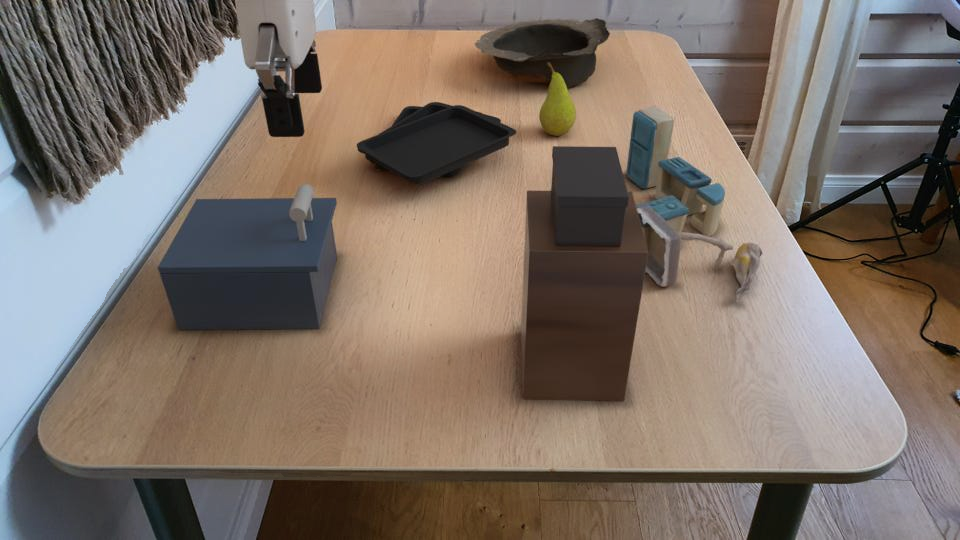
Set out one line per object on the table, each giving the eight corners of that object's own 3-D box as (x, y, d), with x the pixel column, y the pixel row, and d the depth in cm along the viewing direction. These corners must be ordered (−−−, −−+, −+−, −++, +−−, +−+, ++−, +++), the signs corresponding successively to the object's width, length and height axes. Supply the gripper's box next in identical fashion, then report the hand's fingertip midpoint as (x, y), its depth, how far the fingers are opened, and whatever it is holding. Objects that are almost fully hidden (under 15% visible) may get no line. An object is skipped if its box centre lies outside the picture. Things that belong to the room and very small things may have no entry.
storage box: (337, 256, 92) (329, 203, 87) (319, 328, 81) (309, 272, 77) (212, 258, 92) (198, 205, 87) (178, 330, 81) (159, 274, 76)
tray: (378, 115, 125) (375, 86, 122) (515, 116, 124) (515, 87, 121) (346, 209, 101) (342, 175, 98) (515, 211, 100) (516, 178, 97)
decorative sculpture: (756, 257, 92) (770, 207, 87) (777, 306, 84) (793, 254, 79) (626, 252, 92) (633, 202, 88) (634, 301, 85) (643, 249, 80)
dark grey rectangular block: (622, 247, 62) (629, 196, 59) (554, 246, 62) (558, 195, 59) (610, 194, 69) (616, 146, 66) (549, 193, 69) (552, 146, 66)
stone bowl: (622, 95, 131) (624, 44, 125) (482, 110, 130) (478, 59, 125) (595, 44, 150) (596, -2, 144) (474, 57, 150) (470, 11, 144)
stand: (624, 401, 72) (648, 252, 62) (522, 399, 73) (529, 250, 62) (612, 333, 80) (632, 191, 70) (521, 332, 81) (526, 190, 70)
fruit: (581, 137, 118) (587, 65, 111) (550, 145, 116) (554, 72, 109) (561, 123, 122) (566, 53, 115) (531, 131, 120) (534, 59, 113)
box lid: (337, 203, 87) (331, 164, 84) (318, 272, 77) (311, 230, 73) (197, 204, 87) (187, 165, 84) (159, 273, 76) (145, 232, 73)
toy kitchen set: (562, 193, 104) (567, 125, 98) (645, 171, 109) (655, 104, 103) (638, 260, 91) (649, 186, 85) (728, 231, 96) (745, 159, 90)
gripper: (246, -98, 69) (278, 78, 79) (189, -49, 55) (236, 155, 65) (327, -98, 69) (347, 77, 79) (290, -50, 55) (321, 154, 65)
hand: (297, 112), depth 72 cm, fingers open, 9 cm apart
